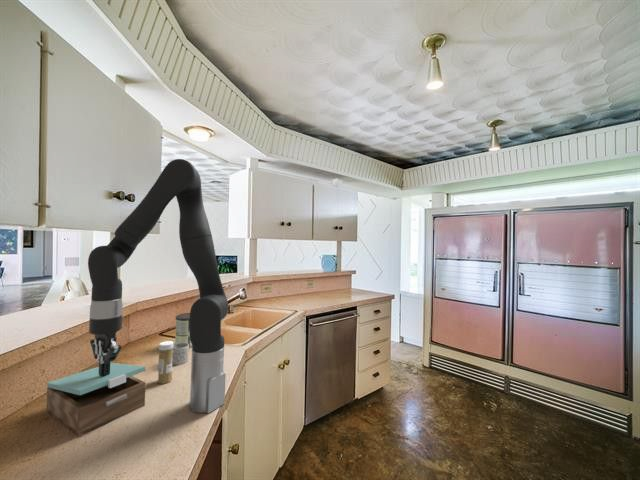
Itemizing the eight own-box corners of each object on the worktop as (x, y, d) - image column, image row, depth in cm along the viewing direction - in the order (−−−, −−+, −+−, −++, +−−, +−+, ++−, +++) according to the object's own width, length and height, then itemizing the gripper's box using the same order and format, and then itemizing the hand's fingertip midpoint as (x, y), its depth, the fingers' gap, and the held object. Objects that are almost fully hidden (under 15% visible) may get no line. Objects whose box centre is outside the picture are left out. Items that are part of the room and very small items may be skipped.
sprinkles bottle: (172, 382, 98) (174, 343, 98) (157, 385, 96) (159, 346, 96) (171, 376, 102) (172, 339, 102) (157, 379, 100) (158, 341, 100)
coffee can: (180, 341, 138) (181, 312, 138) (201, 341, 139) (202, 312, 139) (170, 348, 128) (171, 318, 128) (193, 349, 128) (194, 318, 128)
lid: (148, 373, 84) (147, 366, 84) (82, 398, 70) (82, 390, 70) (111, 368, 94) (110, 362, 94) (47, 389, 80) (47, 382, 80)
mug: (179, 357, 119) (180, 341, 119) (191, 360, 117) (192, 344, 117) (159, 366, 110) (159, 349, 110) (171, 369, 108) (172, 352, 108)
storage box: (146, 406, 84) (147, 383, 84) (80, 438, 70) (81, 410, 70) (110, 387, 94) (111, 366, 94) (46, 411, 80) (47, 387, 80)
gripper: (133, 315, 81) (130, 375, 80) (109, 309, 87) (107, 364, 87) (102, 321, 74) (100, 387, 74) (79, 314, 81) (77, 374, 80)
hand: (104, 375), depth 80 cm, fingers closed
